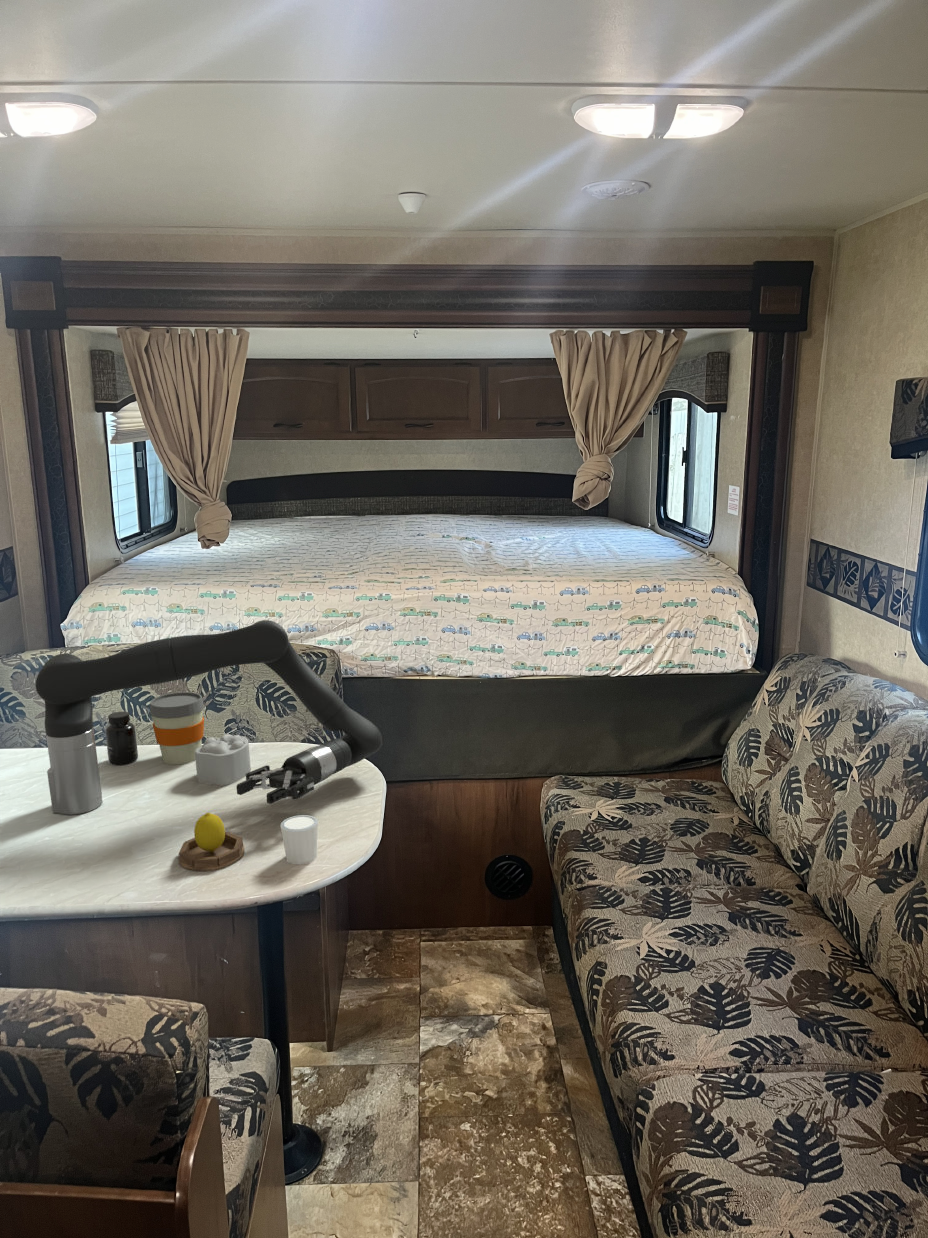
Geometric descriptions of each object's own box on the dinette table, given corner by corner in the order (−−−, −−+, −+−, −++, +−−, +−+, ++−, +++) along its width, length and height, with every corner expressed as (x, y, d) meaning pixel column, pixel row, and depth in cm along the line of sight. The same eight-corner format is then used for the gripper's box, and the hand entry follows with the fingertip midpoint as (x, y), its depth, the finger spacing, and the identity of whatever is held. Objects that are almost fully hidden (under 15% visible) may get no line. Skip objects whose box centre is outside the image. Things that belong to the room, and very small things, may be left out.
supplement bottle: (103, 765, 210) (97, 718, 207) (118, 755, 216) (113, 709, 214) (129, 766, 209) (123, 719, 206) (144, 756, 215) (138, 710, 213)
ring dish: (172, 873, 157) (171, 863, 157) (186, 842, 169) (185, 833, 168) (239, 869, 158) (238, 859, 158) (249, 838, 170) (248, 829, 170)
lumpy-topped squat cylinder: (191, 782, 199) (187, 746, 197) (224, 761, 211) (221, 727, 209) (229, 787, 195) (226, 751, 193) (261, 766, 207) (258, 731, 205)
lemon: (197, 848, 166) (193, 809, 164) (227, 844, 167) (223, 805, 165) (195, 861, 160) (191, 821, 159) (226, 857, 162) (222, 817, 160)
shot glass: (324, 848, 165) (322, 814, 164) (314, 866, 158) (312, 831, 157) (289, 848, 166) (286, 814, 164) (278, 865, 159) (275, 830, 158)
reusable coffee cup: (153, 753, 217) (147, 696, 214) (205, 745, 222) (199, 689, 218) (157, 770, 206) (150, 710, 202) (211, 761, 210) (206, 702, 207)
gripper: (284, 744, 187) (226, 770, 174) (334, 757, 179) (277, 784, 166) (287, 777, 189) (229, 804, 175) (336, 790, 181) (279, 820, 168)
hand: (252, 794), depth 171 cm, fingers open, 8 cm apart
